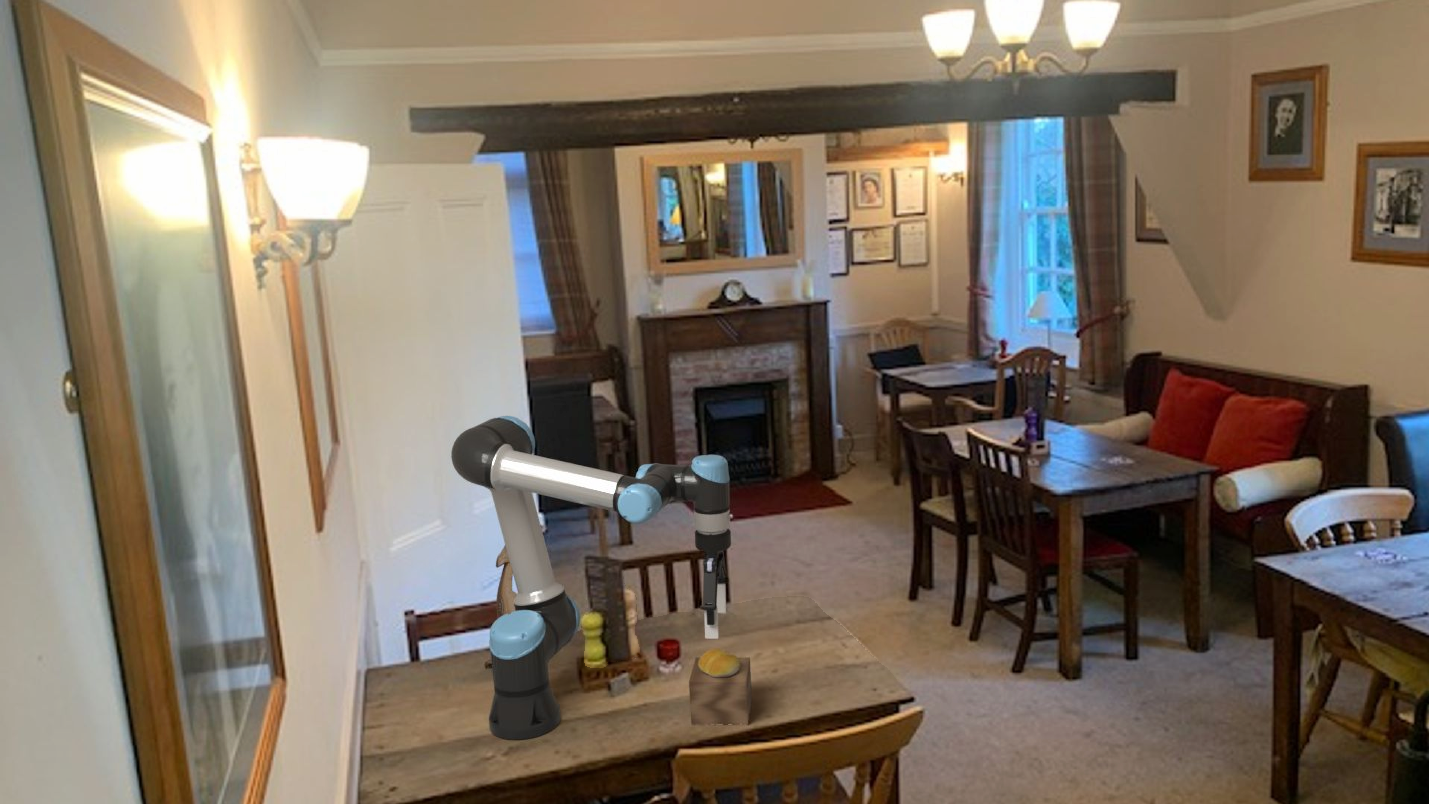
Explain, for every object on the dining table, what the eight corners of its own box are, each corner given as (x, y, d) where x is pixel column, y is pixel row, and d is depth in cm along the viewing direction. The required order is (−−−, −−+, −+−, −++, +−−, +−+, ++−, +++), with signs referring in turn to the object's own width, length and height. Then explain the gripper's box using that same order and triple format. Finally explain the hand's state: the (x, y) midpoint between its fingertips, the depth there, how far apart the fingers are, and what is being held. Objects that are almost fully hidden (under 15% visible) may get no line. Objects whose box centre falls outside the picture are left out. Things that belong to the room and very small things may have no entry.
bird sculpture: (482, 671, 257) (467, 546, 250) (517, 652, 266) (504, 531, 259) (514, 682, 250) (500, 554, 243) (549, 662, 259) (537, 538, 252)
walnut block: (691, 726, 225) (688, 682, 223) (698, 699, 236) (695, 657, 234) (747, 726, 223) (745, 682, 221) (751, 699, 235) (749, 657, 233)
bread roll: (719, 682, 222) (719, 664, 221) (692, 669, 228) (691, 652, 228) (749, 670, 227) (748, 652, 226) (721, 658, 234) (720, 640, 233)
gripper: (723, 548, 209) (726, 649, 213) (736, 511, 234) (739, 602, 238) (685, 548, 210) (689, 648, 214) (703, 511, 235) (706, 602, 239)
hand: (716, 625), depth 226 cm, fingers open, 13 cm apart
